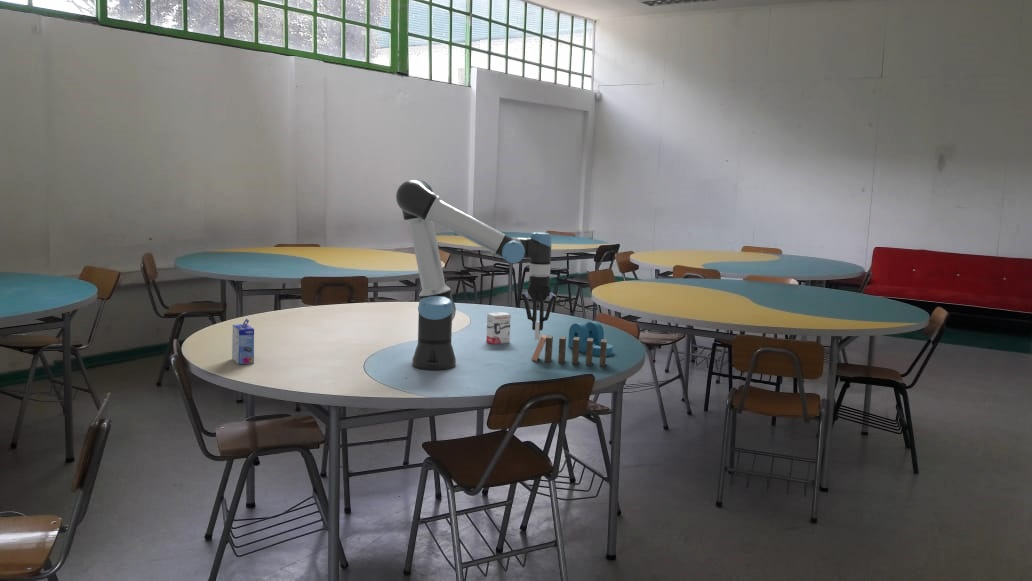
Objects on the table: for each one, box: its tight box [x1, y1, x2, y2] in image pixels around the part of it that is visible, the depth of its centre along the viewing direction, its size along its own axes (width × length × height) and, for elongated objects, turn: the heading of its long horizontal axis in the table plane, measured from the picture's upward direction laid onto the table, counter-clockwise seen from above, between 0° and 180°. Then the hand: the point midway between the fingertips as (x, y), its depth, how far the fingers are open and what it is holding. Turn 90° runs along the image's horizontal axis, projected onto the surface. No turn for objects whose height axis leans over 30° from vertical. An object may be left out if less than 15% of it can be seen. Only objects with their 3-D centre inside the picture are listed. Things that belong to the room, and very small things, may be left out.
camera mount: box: [567, 321, 614, 357], centre depth 295 cm, size 18×10×10 cm, turn 34°
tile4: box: [571, 337, 580, 365], centre depth 275 cm, size 2×5×9 cm, turn 171°
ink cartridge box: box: [231, 318, 255, 365], centre depth 257 cm, size 10×6×14 cm, turn 33°
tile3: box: [557, 335, 567, 364], centre depth 276 cm, size 2×5×9 cm, turn 171°
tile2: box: [544, 334, 554, 363], centre depth 276 cm, size 2×5×9 cm, turn 171°
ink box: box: [485, 311, 512, 345], centre depth 303 cm, size 8×5×12 cm, turn 123°
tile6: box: [599, 338, 608, 368], centre depth 273 cm, size 2×5×9 cm, turn 171°
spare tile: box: [531, 334, 547, 362], centre depth 277 cm, size 2×5×9 cm, turn 172°
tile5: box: [585, 338, 593, 366], centre depth 274 cm, size 2×5×9 cm, turn 171°
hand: (537, 338), depth 277 cm, fingers closed
